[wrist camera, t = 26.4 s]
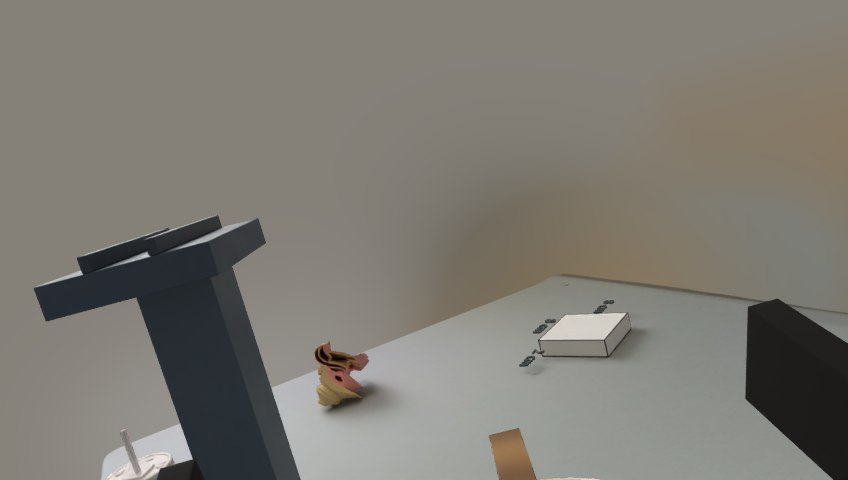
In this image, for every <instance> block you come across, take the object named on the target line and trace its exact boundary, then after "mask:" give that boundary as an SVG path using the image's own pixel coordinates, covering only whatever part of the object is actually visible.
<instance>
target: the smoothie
mask: <svg viewBox="0 0 848 480" xmlns="http://www.w3.org/2000/svg"><path fill="white" fill-rule="evenodd" d="M120 434H121V437H122V440H123V442H124V445H125V448H126V451H127V453H128V456H129V459H130V461H131V462H130V463H128V464H126V465H124V466H122V467H121V468H119V469H118V470H116V471H115V472H113V473H112V474H111V475H110V476H109V477H108V478H106V480H156V479H157V476H158V473H159V470H160V468H164V467H167V466H171V465H175V462H174V461H173V458H172V455H171V454H169V453H155V454H150V455H147V456H144V457H141V458H139V459H137V458H136V455H135V452H134V450H133V447H132V444H131V441H130V439H129V436H128V433H127V431H126V429H122V430H121V431H120Z"/></svg>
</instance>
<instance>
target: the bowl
mask: <svg viewBox="0 0 848 480" xmlns="http://www.w3.org/2000/svg"><path fill="white" fill-rule="evenodd" d="M541 480H599V479H589V478H569V477H568V478H553V479H541Z"/></svg>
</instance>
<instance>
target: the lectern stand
mask: <svg viewBox="0 0 848 480" xmlns="http://www.w3.org/2000/svg"><path fill="white" fill-rule="evenodd" d="M221 227H222V226H221V223H220V220H219V217H218V215H215V216H212V217H208V218H205V219H202V220H200V221H197V222H194V223H191V224H188V225H185V226H182V227H179V228H176V229H173V230H169V228H166V229H163V230H160V231H156V232H153V233H150V234H147V235H144V236H141V237H138V238H135V239H132V240H129V241H126V242H123V243H120V244H116V245H114V246H110V247H107V248H104V249H101V250H98V251H95V252H92V253H89V254H86V255H83V256H80V257H77V260H78V263H79V266H80V269H81V270H80V271H78V272H75V273H72V274H70V275H67V276H64V277H61V278H59V279H56V280H54V281H51V282H48V283H46V284H43V285H40V286H37V287H35V288H34V291H35V293H36V296H37V299H38V301H39V304H40V307H41V309H42V312H43V315H44V317H45V320H46V321H50V320H54V319H57V318H61V317H65V316H68V315H72V314H76V313H80V312H83V311H87V310H91V309H95V308H98V307H102V306H105V305H110V304H113V303H117V302H121V301H124V300H128V299H132V298H135V297H136V298H137V301H138V303H139V306H140V309H141V312H142V315H143V318H144V321H145V323H146V326H147V329H148V332H149V335H150V337H151V341H152V344H153V346H154V349H155V352H156V355H157V358H158V361H159V364H160V366H161V369H162V372H163V375H164V378H165V381H166V384H167V386H168V389H169V392H170V395H171V398H172V401H173V404H174V406H175V409H176V412H177V415H178V418H179V421H180V424H181V427H182V429H183V432H184V435H185V438H186V441H187V444H188V447H189V449H190V452H191V455H192V458H193V459H196V462H197V464H198V466H199V468H200V470H201V472H202V475H203V477H204V479H205V480H300V477H299V473H298V470H297V467H296V464H295V461H294V458H293V455H292V452H291V449H290V445H289V442H288V439H287V436H286V433H285V430H284V427H283V424H282V421H281V417H280V414H279V411H278V408H277V405H276V402H275V399H274V396H273V392H272V389H271V386H270V383H269V380H268V377H267V374H266V371H265V368H264V365H263V361H262V359H261V355H260V352H259V349H258V346H257V343H256V340H255V336H254V333H253V330H252V327H251V324H250V321H249V318H248V315H247V311H246V309H245V305H244V302H243V299H242V296H241V293H240V290H239V287H238V283H237V281H236V277H235V274H234V271H233V268H232V266H233V265H234V264H236V263H237V262H239V261H240V260H242V259H243V258H244V257H246V256H248V255H249V254H250V253H252V252H253V251H255V250H256V249H258V248H259V247H261V246H262V245H263V244H265V243H266V242H265V239H264V235H263V232H262V229H261V226H260V223H259V219H258V218H256V219H252V220H248V221H244V222H241V223H237V224H233V225H230V226H226V227H222V228H221Z"/></svg>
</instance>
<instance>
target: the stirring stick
mask: <svg viewBox="0 0 848 480" xmlns="http://www.w3.org/2000/svg"><path fill="white" fill-rule="evenodd" d="M489 439H490V443H491V448H492V452H493V456H494V461H495V465H496V469H497V474H498V478H499V480H536V477H535V474H534V471H533V468H532V465H531V462H530V459H529V456H528V453H527V450H526V448H525V445H524V442H523V439H522V436H521V433H520V430H519V428H517V429H513V430H509V431H505V432H501V433H497V434H493V435H489Z"/></svg>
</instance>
